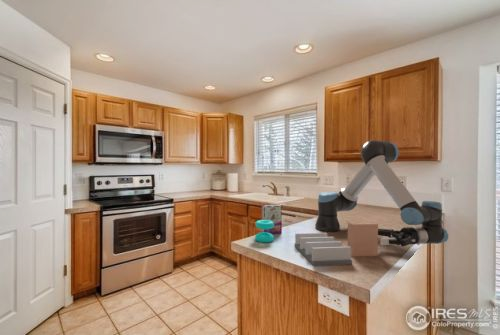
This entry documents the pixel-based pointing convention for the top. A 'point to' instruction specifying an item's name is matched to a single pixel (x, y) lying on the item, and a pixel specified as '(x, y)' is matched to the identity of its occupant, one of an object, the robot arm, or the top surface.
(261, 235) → the donuts
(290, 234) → the top surface
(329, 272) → the top surface
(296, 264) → the top surface
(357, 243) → the terracotta tile
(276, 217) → the candy bar box
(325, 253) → the dish rack
